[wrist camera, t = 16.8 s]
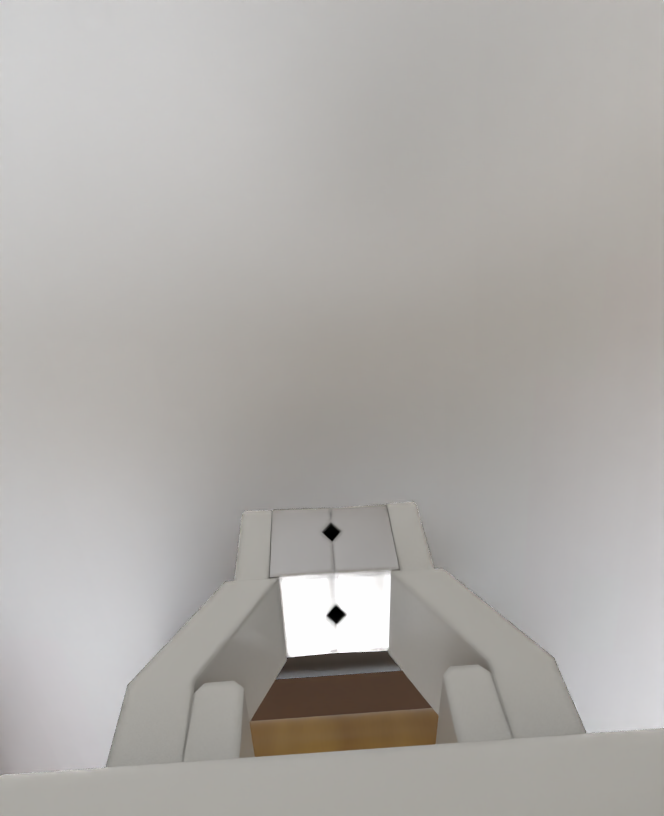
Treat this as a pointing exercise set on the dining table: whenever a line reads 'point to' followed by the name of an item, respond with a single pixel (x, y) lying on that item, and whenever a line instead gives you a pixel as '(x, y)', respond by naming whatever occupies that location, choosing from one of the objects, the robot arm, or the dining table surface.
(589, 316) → the dining table surface
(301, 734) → the drawer
